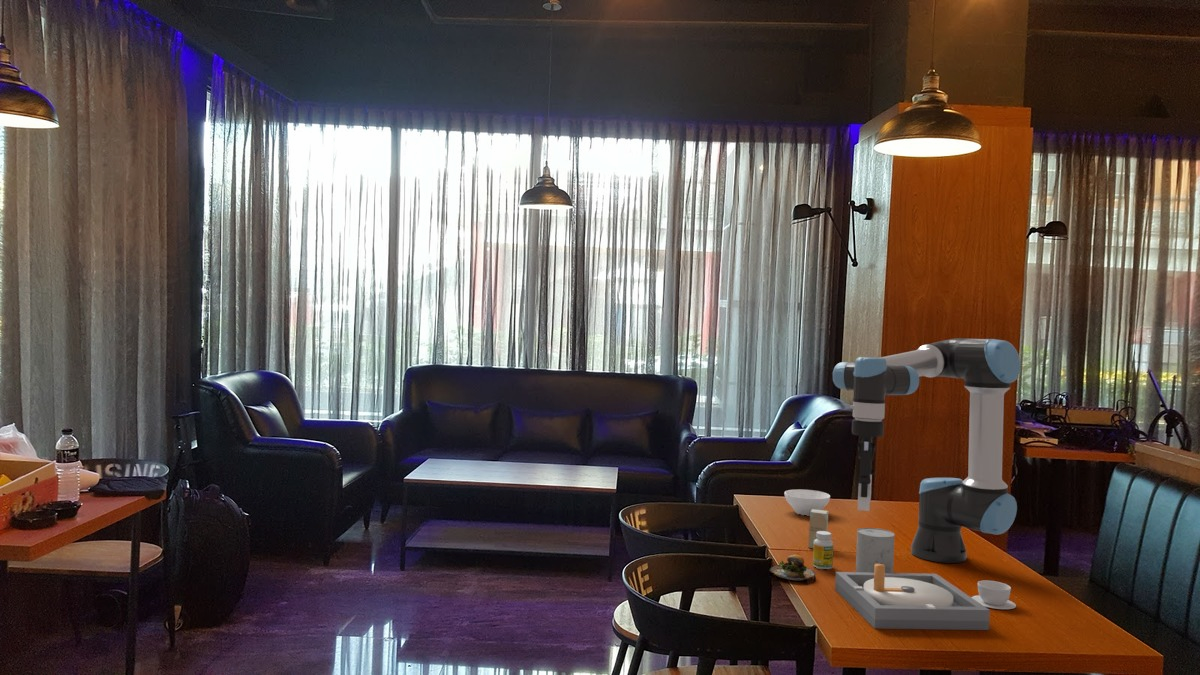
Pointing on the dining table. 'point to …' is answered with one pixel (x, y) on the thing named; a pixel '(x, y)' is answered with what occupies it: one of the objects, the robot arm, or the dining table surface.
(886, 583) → the dial
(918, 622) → the grey square tray
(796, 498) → the bowl
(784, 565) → the multicoloured round food plate
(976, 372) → the robot arm
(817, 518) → the box
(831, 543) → the supplement bottle
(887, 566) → the gray speckled cylinder
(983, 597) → the teacup
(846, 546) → the dining table surface
